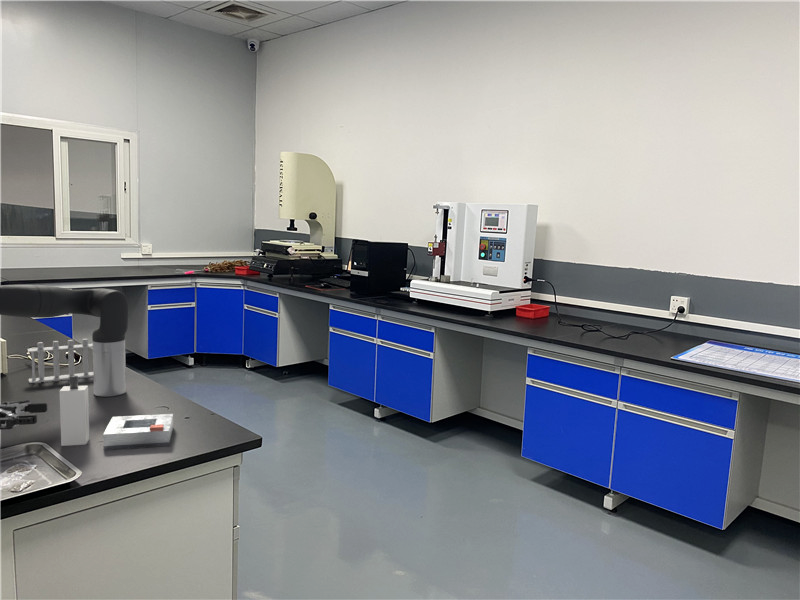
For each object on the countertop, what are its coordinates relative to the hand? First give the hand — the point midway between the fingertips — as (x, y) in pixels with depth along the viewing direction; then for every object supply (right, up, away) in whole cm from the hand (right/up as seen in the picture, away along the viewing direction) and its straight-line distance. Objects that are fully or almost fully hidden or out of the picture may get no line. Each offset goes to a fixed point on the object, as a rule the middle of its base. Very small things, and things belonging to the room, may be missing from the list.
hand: (42, 413), depth 146 cm
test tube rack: (-25, +1, +58) cm, 63 cm away
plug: (+7, -8, +3) cm, 11 cm away
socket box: (+21, -8, +7) cm, 24 cm away
